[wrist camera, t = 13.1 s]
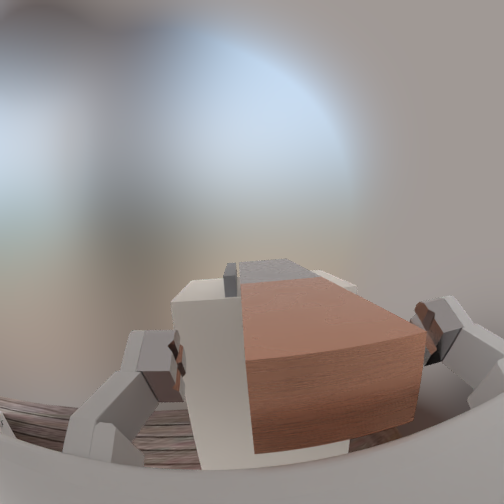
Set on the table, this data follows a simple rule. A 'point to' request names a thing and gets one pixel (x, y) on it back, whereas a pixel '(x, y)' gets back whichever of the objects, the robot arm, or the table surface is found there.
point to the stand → (227, 376)
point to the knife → (322, 359)
